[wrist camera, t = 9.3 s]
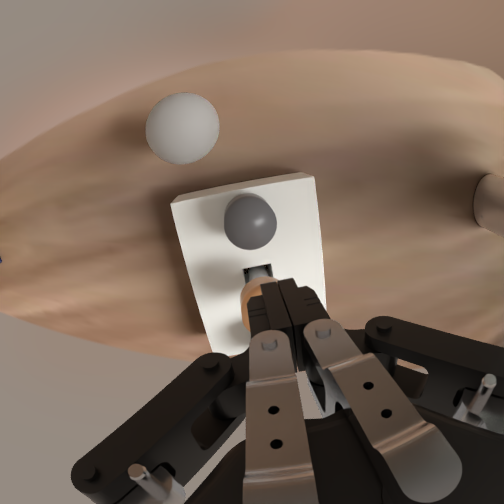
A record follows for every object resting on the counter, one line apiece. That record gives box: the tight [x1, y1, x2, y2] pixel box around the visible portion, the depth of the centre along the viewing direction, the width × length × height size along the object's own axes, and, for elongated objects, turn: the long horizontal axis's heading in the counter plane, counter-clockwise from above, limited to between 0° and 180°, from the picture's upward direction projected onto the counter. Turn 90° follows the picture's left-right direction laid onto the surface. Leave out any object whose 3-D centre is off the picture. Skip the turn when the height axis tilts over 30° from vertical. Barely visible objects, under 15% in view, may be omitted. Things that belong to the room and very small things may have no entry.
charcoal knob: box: [224, 193, 277, 250], centre depth 28 cm, size 4×4×8 cm
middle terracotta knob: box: [240, 265, 278, 331], centre depth 28 cm, size 4×4×8 cm
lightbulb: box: [146, 93, 220, 164], centre depth 24 cm, size 6×6×11 cm
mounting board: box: [170, 172, 326, 356], centre depth 33 cm, size 14×19×5 cm
